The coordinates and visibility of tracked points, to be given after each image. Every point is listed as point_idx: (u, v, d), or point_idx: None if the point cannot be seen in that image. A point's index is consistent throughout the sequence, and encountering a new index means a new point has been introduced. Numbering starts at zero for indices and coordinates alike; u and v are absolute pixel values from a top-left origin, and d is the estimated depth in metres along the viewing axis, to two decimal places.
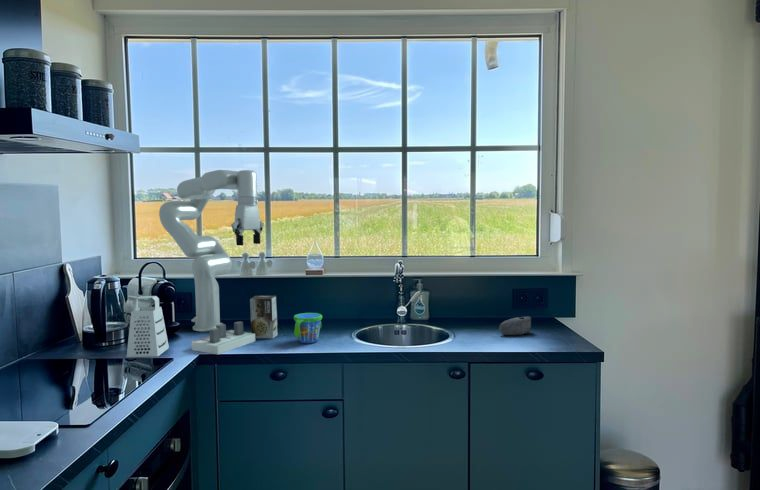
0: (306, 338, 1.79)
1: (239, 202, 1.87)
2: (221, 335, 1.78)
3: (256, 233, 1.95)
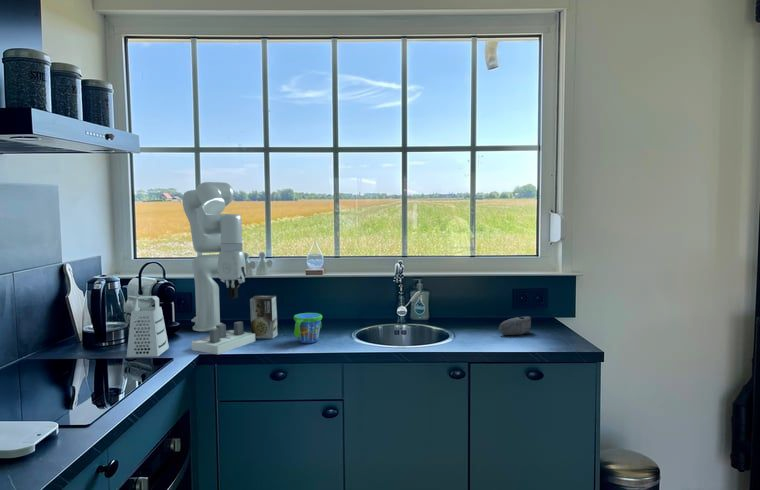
0: (306, 338, 1.79)
1: (237, 249, 1.71)
2: (221, 335, 1.78)
3: (232, 284, 1.75)
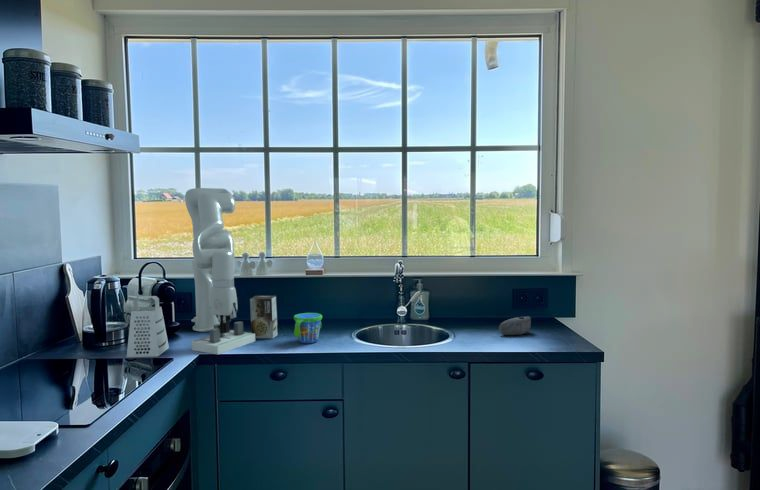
0: (306, 338, 1.79)
1: (229, 285, 1.74)
2: None
3: None
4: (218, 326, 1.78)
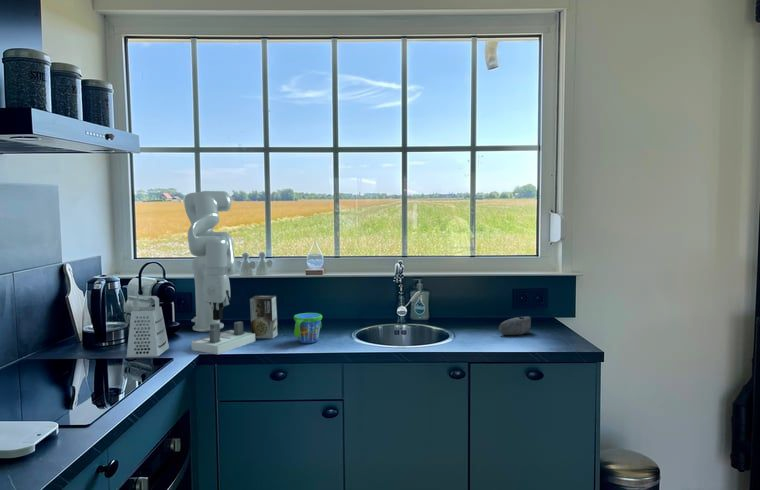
0: (306, 338, 1.79)
1: (222, 273, 1.76)
2: None
3: None
4: (214, 325, 1.79)
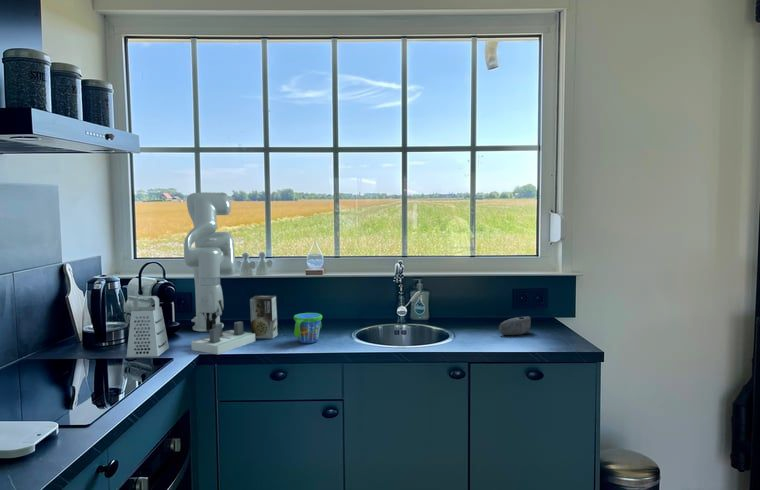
0: (306, 338, 1.79)
1: (214, 283, 1.77)
2: None
3: None
4: (217, 326, 1.78)
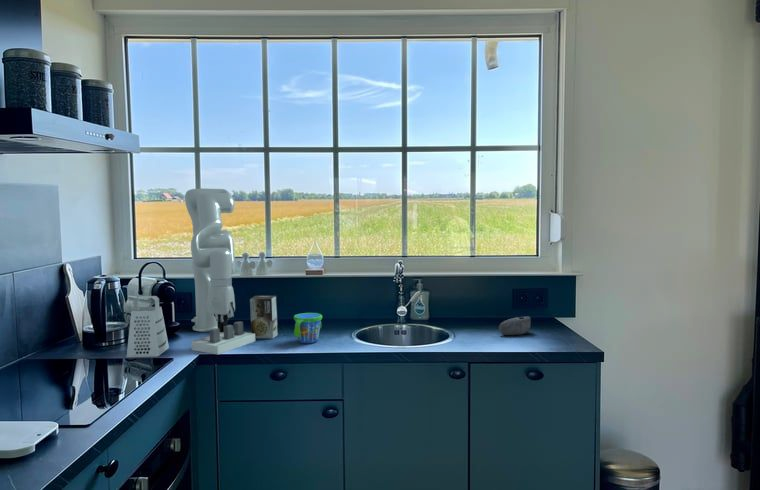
0: (306, 338, 1.79)
1: (226, 284, 1.74)
2: (229, 336, 1.76)
3: None
4: (228, 327, 1.76)
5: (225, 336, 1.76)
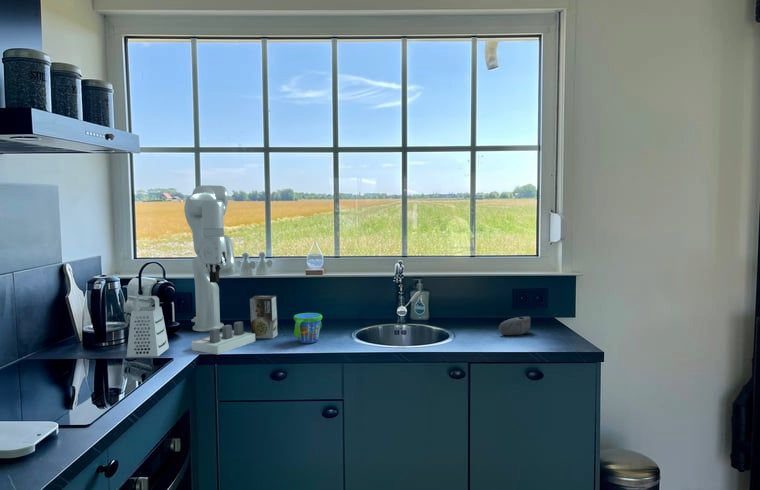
0: (306, 338, 1.79)
1: (218, 234, 1.75)
2: (227, 336, 1.76)
3: None
4: (227, 327, 1.76)
5: (224, 336, 1.76)
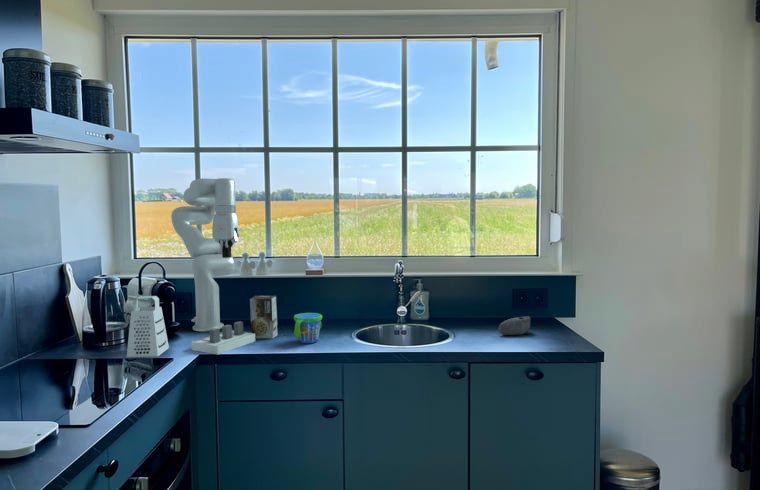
0: (306, 338, 1.79)
1: (231, 211, 1.83)
2: (227, 336, 1.76)
3: None
4: (227, 327, 1.76)
5: (224, 336, 1.76)
